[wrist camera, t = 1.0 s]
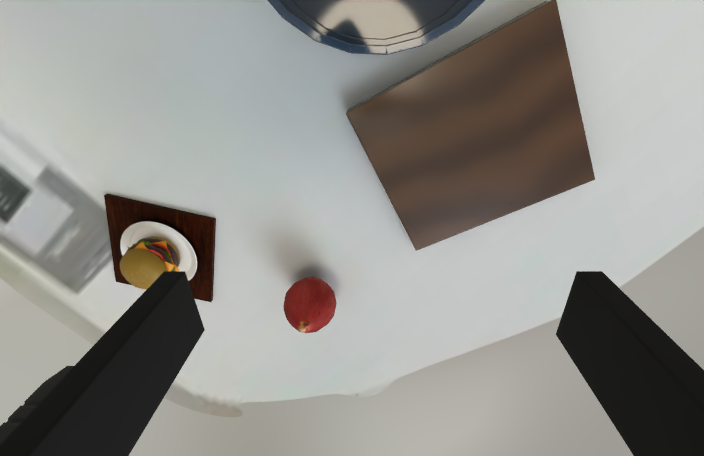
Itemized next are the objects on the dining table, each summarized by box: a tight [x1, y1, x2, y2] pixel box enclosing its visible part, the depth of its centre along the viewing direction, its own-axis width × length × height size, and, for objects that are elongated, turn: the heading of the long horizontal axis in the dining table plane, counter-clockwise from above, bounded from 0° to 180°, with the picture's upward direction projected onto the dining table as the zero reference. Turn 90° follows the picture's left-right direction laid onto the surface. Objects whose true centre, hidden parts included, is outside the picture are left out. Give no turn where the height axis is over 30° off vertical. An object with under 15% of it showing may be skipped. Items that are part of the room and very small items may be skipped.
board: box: [346, 0, 595, 250], centre depth 31 cm, size 16×18×2 cm
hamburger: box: [104, 194, 216, 302], centre depth 37 cm, size 12×12×6 cm
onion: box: [284, 278, 336, 333], centre depth 37 cm, size 6×6×8 cm
